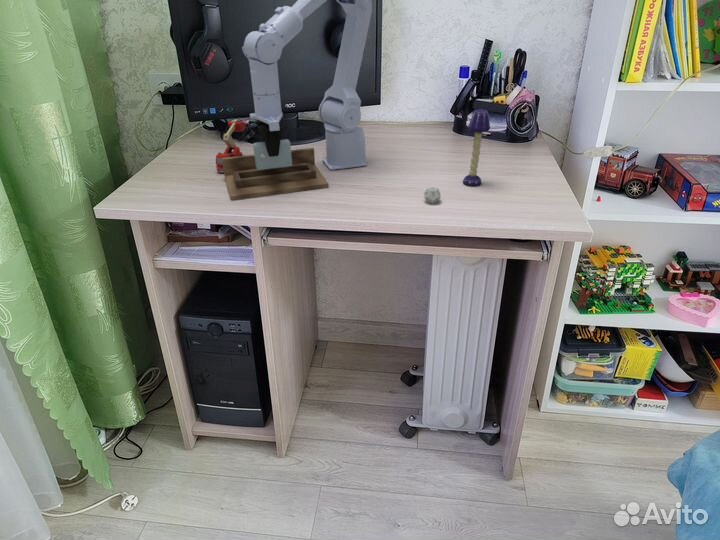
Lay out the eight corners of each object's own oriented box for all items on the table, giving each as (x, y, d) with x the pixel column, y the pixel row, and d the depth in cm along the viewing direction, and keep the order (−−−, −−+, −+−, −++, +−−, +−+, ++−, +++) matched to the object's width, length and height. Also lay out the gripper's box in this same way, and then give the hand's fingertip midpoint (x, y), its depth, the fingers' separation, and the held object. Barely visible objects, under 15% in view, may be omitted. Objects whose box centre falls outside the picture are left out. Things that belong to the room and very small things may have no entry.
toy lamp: (485, 181, 126) (493, 108, 118) (482, 188, 123) (490, 114, 114) (464, 178, 128) (470, 107, 119) (460, 186, 124) (467, 112, 115)
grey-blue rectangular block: (290, 162, 127) (288, 139, 124) (292, 166, 125) (290, 143, 122) (255, 166, 125) (253, 143, 122) (257, 170, 123) (254, 147, 120)
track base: (314, 167, 136) (313, 147, 133) (328, 187, 124) (327, 166, 122) (224, 178, 130) (221, 158, 128) (231, 200, 119) (228, 179, 116)
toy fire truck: (215, 174, 133) (209, 135, 128) (237, 155, 145) (232, 118, 140) (228, 174, 132) (222, 135, 127) (249, 155, 144) (244, 119, 139)
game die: (443, 203, 116) (444, 190, 115) (427, 206, 115) (428, 193, 113) (436, 197, 119) (436, 184, 117) (420, 199, 118) (421, 186, 116)
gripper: (243, 86, 122) (250, 145, 129) (252, 102, 110) (259, 166, 117) (274, 84, 123) (279, 142, 130) (286, 98, 112) (292, 162, 119)
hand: (272, 153), depth 124 cm, fingers closed on grey-blue rectangular block, 2 cm apart
